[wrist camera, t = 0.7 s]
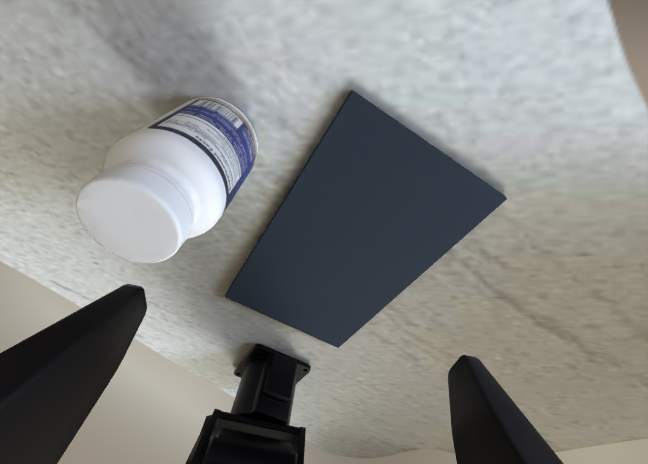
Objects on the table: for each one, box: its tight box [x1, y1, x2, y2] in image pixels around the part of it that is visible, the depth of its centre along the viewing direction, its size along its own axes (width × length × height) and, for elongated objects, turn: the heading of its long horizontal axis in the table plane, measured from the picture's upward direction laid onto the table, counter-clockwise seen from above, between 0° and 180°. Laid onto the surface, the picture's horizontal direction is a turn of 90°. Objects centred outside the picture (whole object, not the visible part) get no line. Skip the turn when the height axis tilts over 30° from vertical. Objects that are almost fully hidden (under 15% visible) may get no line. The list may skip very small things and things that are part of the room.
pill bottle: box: [76, 97, 258, 263], centre depth 16 cm, size 5×5×10 cm
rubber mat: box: [225, 90, 507, 348], centre depth 24 cm, size 20×12×1 cm, turn 149°
